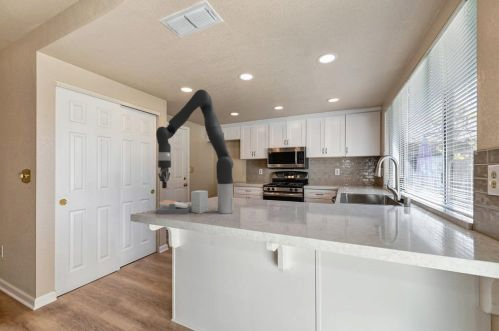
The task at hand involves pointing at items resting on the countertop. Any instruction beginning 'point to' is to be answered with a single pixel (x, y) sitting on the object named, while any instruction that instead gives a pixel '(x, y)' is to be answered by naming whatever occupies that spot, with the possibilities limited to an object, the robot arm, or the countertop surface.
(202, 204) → the supplement box
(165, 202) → the breaker rocker
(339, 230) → the countertop surface
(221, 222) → the countertop surface
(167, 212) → the breaker panel
